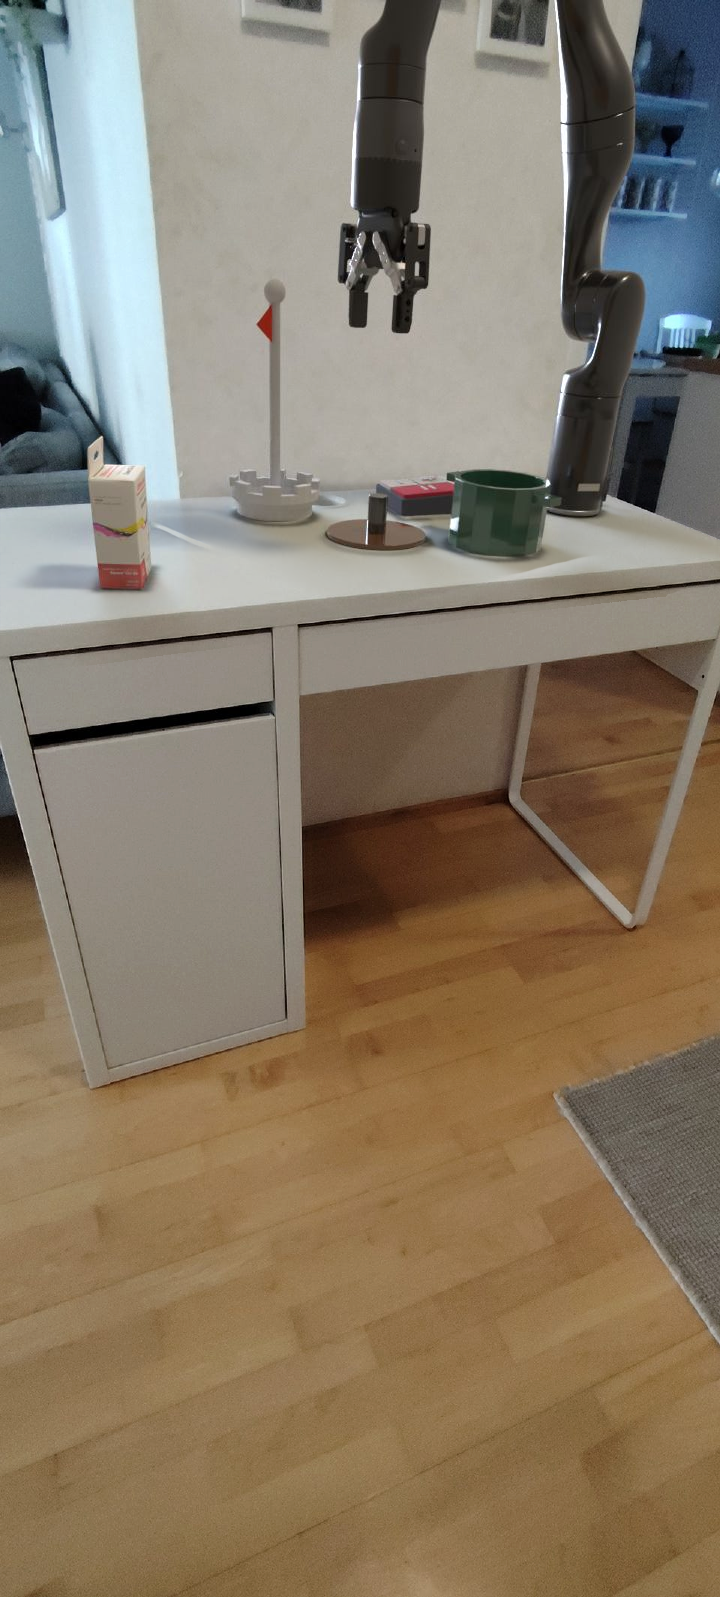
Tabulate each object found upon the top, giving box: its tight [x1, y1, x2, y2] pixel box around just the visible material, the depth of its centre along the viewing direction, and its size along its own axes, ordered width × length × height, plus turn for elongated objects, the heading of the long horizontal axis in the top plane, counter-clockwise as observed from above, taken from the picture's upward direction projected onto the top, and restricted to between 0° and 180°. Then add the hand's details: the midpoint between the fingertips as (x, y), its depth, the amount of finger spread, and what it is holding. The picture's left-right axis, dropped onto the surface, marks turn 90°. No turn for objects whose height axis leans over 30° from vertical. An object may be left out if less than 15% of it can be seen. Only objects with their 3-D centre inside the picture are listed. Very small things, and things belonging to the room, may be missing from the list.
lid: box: [326, 492, 427, 551], centre depth 115 cm, size 14×14×6 cm
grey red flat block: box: [375, 475, 454, 517], centre depth 132 cm, size 11×4×15 cm
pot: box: [446, 468, 561, 558], centre depth 114 cm, size 13×18×9 cm
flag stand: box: [229, 278, 321, 522], centre depth 117 cm, size 13×13×30 cm
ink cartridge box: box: [86, 435, 153, 590], centre depth 93 cm, size 9×5×15 cm, turn 5°
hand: (378, 330), depth 99 cm, fingers open, 8 cm apart
